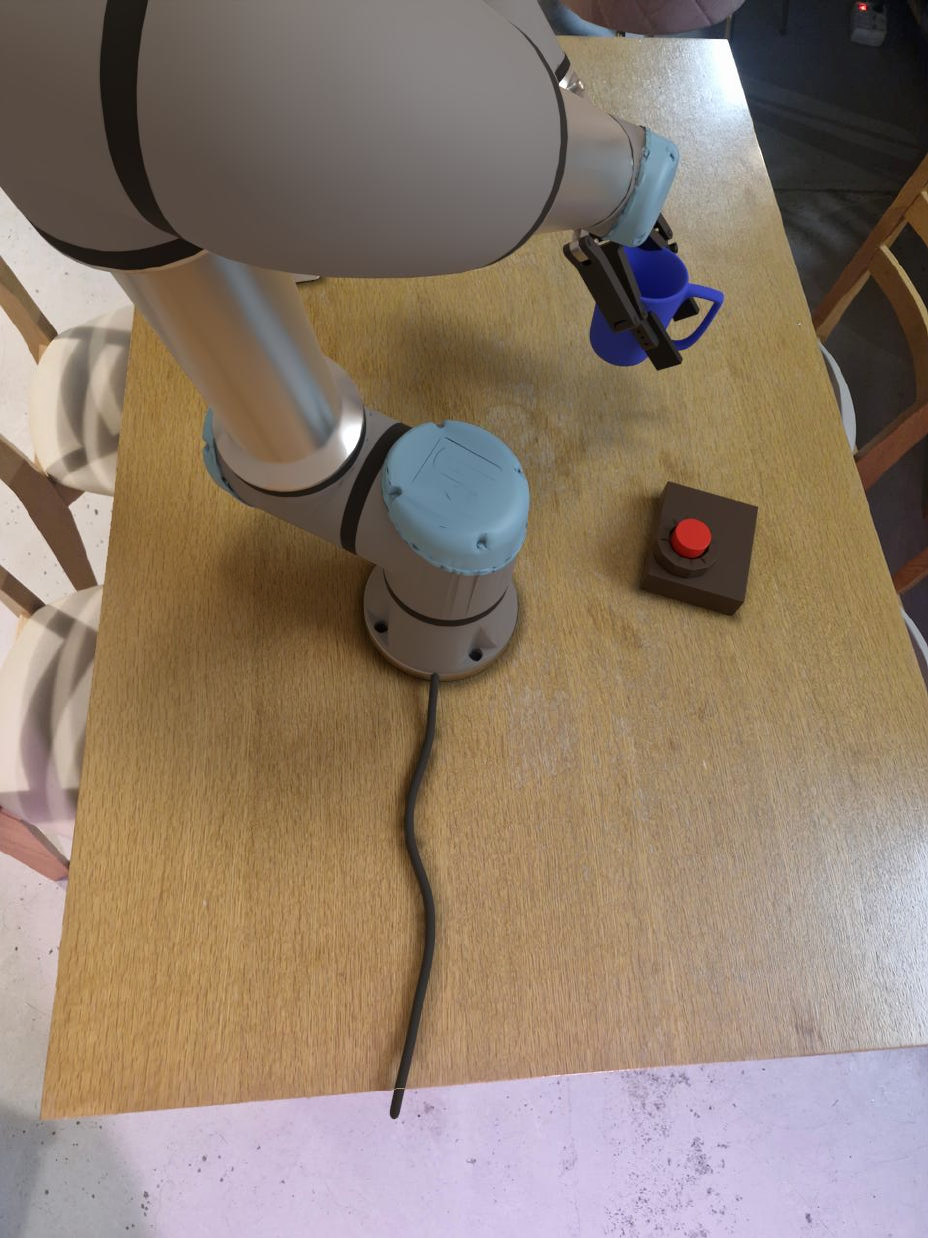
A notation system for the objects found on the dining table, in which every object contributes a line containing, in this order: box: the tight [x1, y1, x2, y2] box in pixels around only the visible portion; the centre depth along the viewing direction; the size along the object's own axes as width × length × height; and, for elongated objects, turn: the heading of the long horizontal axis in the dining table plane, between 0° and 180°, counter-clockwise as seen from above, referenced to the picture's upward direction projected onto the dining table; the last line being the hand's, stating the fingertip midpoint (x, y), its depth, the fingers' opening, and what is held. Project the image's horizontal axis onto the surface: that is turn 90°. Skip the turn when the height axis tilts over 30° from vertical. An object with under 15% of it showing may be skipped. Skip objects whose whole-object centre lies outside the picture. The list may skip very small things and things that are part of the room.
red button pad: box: [639, 480, 759, 617], centre depth 89 cm, size 12×10×5 cm
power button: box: [671, 519, 711, 558], centre depth 85 cm, size 4×4×2 cm
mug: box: [588, 245, 725, 368], centre depth 85 cm, size 8×12×10 cm
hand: (678, 339), depth 86 cm, fingers closed on mug, 7 cm apart
